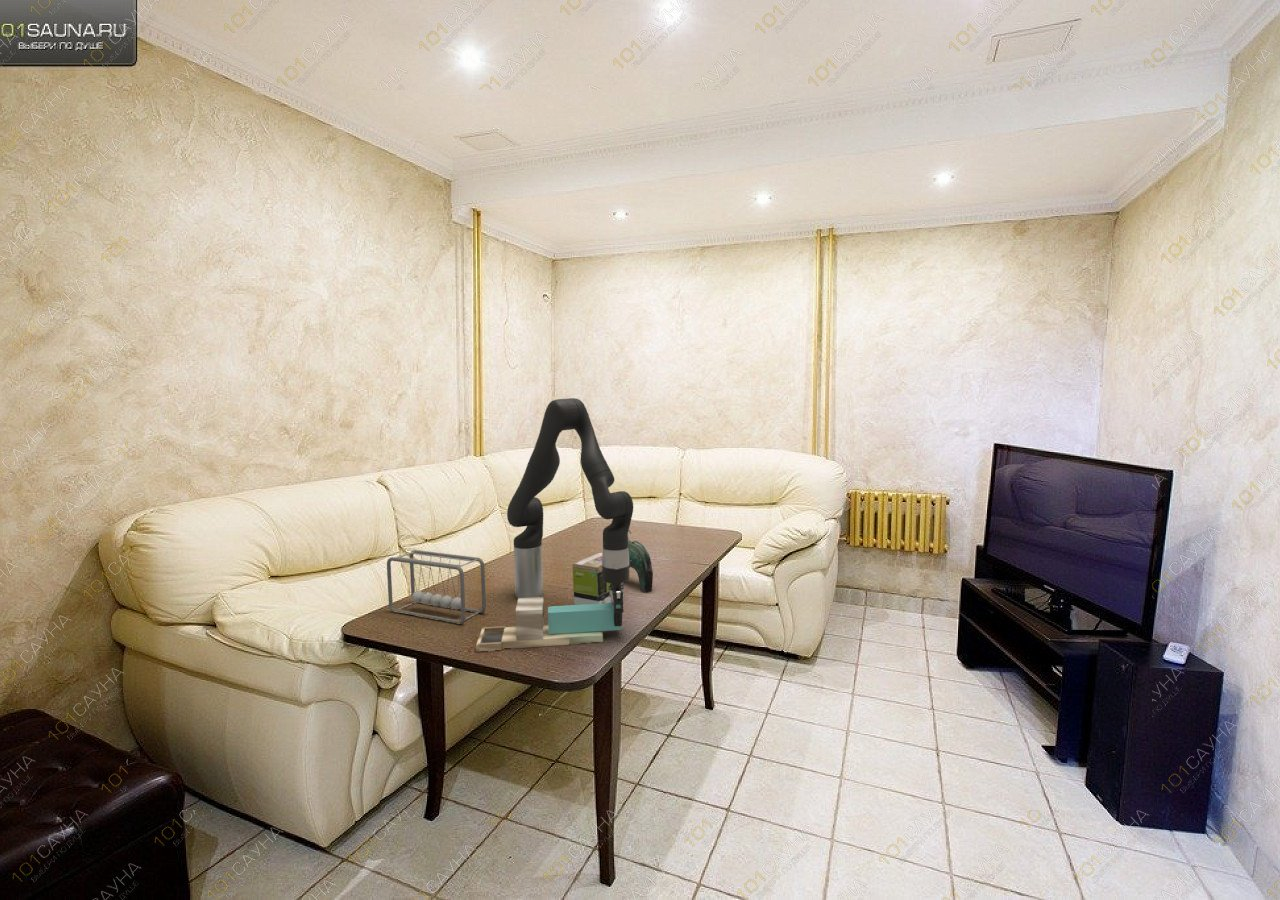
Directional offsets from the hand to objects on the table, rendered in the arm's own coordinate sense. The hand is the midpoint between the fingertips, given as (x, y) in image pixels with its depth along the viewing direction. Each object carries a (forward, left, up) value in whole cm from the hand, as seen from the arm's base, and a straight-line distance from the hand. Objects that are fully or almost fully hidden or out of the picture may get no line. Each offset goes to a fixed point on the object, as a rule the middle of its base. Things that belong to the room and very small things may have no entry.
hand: (616, 619), depth 164 cm
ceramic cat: (-42, +10, -4) cm, 43 cm away
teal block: (0, -9, -2) cm, 9 cm away
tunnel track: (0, -21, -4) cm, 21 cm away
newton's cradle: (-25, -54, -4) cm, 60 cm away
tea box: (-26, -3, -4) cm, 27 cm away
